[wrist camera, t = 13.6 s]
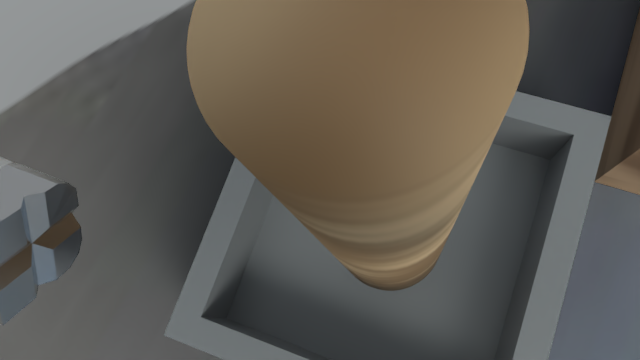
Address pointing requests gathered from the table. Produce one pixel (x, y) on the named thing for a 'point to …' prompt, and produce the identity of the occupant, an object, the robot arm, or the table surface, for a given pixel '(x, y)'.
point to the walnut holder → (624, 127)
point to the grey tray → (430, 293)
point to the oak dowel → (361, 113)
